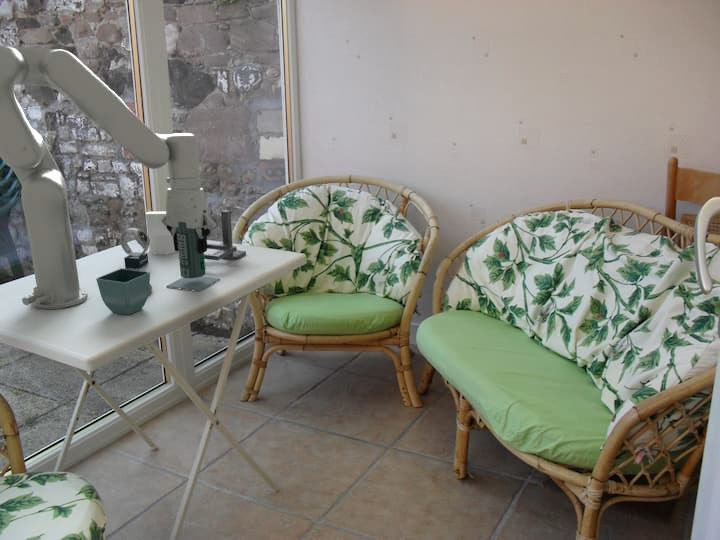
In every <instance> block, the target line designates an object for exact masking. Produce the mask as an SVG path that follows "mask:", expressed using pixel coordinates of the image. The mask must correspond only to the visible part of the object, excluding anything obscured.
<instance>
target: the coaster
mask: <svg viewBox="0 0 720 540" xmlns="http://www.w3.org/2000/svg"><path fill="white" fill-rule="evenodd" d="M218 280H219V281H220V280H221V279H220V277H218V278H217V277H212V276H205V275H203V276H202V277H198V278H184V277H180V278H178V279H177V280H175V281H173V282H171V283H169V284H168V285H166V288H167V287H172V288H171V289H175V288H181V289H180V290H182V289H188V290H187V291H190V290H194V291H193V292H197V291H200V292H202V291H203V289H204V290H205V289H207V288H209V287H211V286H212V285H214V284H216V283H217V282H219V281H218ZM216 281H217V282H216ZM215 282H216V283H215ZM213 283H214V284H213ZM211 284H212V285H211ZM208 286H209V287H208ZM206 287H207V288H206ZM201 290H202V291H201Z"/></svg>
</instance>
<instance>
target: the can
mask: <svg viewBox="0 0 720 540" xmlns="http://www.w3.org/2000/svg"><path fill="white" fill-rule="evenodd" d="M200 229H201V228H200ZM176 231H177V241H178V251H177V253H178V261H179V268H180V269H179V270H180V271H179V272H180V278H182V277H184V278H198V277H202V276H205V275H206V262H205V259H204V253H205V252H204V253H202V254H199V253H198V243H197V239H199V236H198V234H197V232H196V230H195V229H189V228H186V222H185V223H184V222H178V228H176ZM201 231H202V230H201Z"/></svg>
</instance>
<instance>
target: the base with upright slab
mask: <svg viewBox="0 0 720 540" xmlns="http://www.w3.org/2000/svg"><path fill="white" fill-rule="evenodd" d="M165 216H166V210H165V211H147V212H146V213H145V218H146V219H145V220H146V228H147V235H148V237H149V240H150V242H149V248H148V251H149V253H150V252H151V253H150V254H152V253H156V254H155V255H167V254H166V253H171V254H174V253H173V252H175V253H177V252H176V251H175V248H174V242H173V236H171V233H170V232H169V230H168V229H167V228H166V226H165V225H164V224H163V223H162V219H163V218H164V217H165Z"/></svg>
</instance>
